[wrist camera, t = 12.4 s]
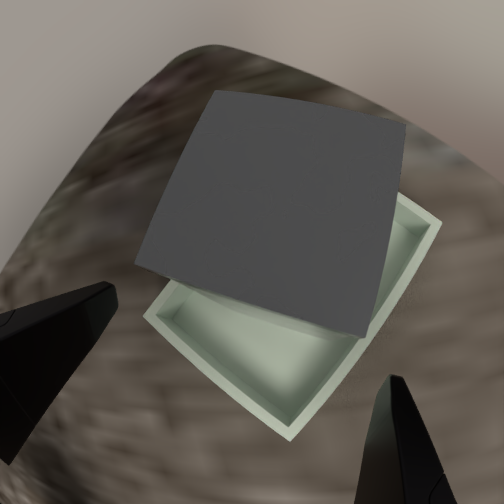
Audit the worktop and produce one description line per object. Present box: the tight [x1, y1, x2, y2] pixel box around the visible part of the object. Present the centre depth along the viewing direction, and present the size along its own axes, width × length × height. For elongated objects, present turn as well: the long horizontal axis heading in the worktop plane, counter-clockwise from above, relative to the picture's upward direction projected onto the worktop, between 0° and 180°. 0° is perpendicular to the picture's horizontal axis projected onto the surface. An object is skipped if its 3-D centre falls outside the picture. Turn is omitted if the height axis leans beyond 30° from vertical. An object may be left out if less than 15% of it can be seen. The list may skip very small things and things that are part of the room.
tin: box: [134, 90, 406, 341], centre depth 14 cm, size 6×6×12 cm
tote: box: [143, 192, 442, 441], centre depth 19 cm, size 15×11×3 cm
